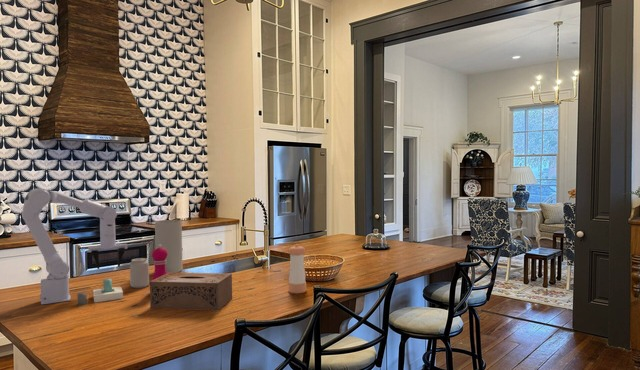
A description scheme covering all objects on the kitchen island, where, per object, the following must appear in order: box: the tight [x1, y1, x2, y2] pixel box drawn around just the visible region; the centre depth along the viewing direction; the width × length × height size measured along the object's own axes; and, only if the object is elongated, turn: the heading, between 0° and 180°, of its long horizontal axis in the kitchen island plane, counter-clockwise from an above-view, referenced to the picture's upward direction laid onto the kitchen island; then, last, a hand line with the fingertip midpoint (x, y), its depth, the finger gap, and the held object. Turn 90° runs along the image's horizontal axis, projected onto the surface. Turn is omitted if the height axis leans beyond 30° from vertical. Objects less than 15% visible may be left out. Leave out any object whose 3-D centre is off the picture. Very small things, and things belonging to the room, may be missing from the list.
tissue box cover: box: [149, 272, 233, 311], centre depth 160 cm, size 26×14×10 cm, turn 82°
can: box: [129, 257, 150, 289], centre depth 185 cm, size 8×8×12 cm
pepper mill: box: [150, 244, 168, 281], centre depth 174 cm, size 7×7×20 cm
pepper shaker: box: [287, 243, 307, 294], centre depth 175 cm, size 7×7×19 cm
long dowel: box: [102, 278, 113, 293], centre depth 169 cm, size 3×3×7 cm
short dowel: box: [76, 292, 88, 306], centre depth 160 cm, size 3×3×4 cm
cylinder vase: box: [154, 219, 184, 273], centre depth 213 cm, size 12×12×25 cm
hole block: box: [92, 286, 124, 303], centre depth 169 cm, size 10×10×2 cm
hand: (108, 267), depth 178 cm, fingers open, 7 cm apart
